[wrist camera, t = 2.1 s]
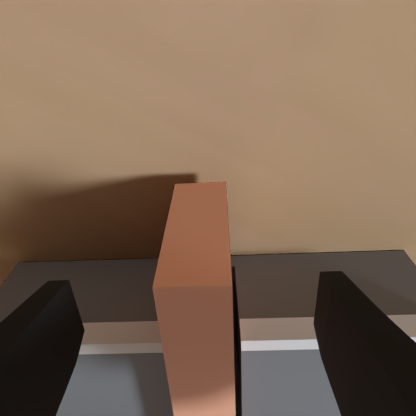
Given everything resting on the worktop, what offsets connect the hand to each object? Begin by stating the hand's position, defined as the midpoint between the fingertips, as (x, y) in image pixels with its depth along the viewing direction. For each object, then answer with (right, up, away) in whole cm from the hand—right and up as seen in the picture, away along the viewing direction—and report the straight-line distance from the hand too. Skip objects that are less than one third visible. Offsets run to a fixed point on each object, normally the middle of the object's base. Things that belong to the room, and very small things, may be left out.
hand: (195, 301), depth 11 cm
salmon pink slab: (0, -1, +6) cm, 6 cm away
